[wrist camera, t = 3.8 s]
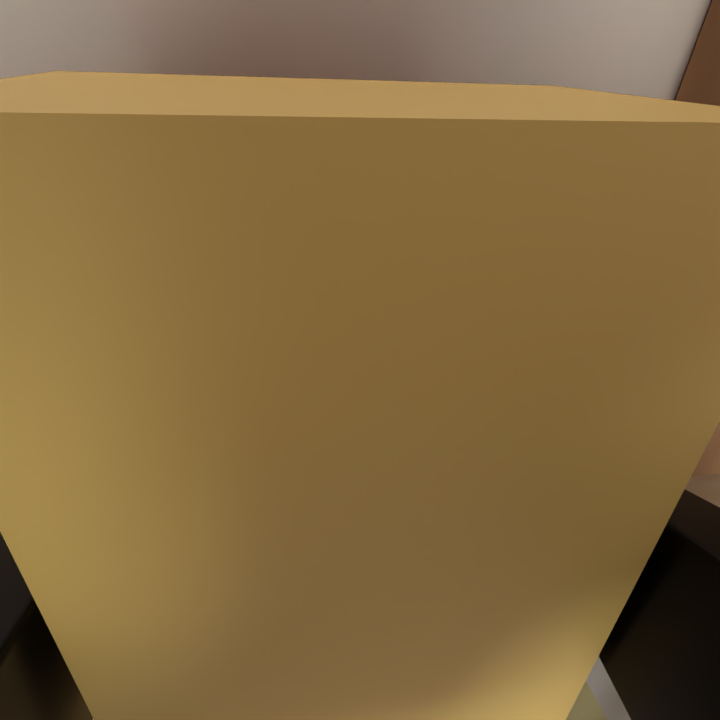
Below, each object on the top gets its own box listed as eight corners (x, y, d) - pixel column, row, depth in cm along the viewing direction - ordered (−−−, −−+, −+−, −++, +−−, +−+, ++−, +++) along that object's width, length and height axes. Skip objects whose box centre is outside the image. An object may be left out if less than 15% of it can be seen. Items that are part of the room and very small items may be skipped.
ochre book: (187, 614, 11) (169, 869, 7) (55, 71, 5) (-213, 108, 2) (453, 567, 12) (540, 769, 9) (552, 86, 7) (872, 124, 3)
